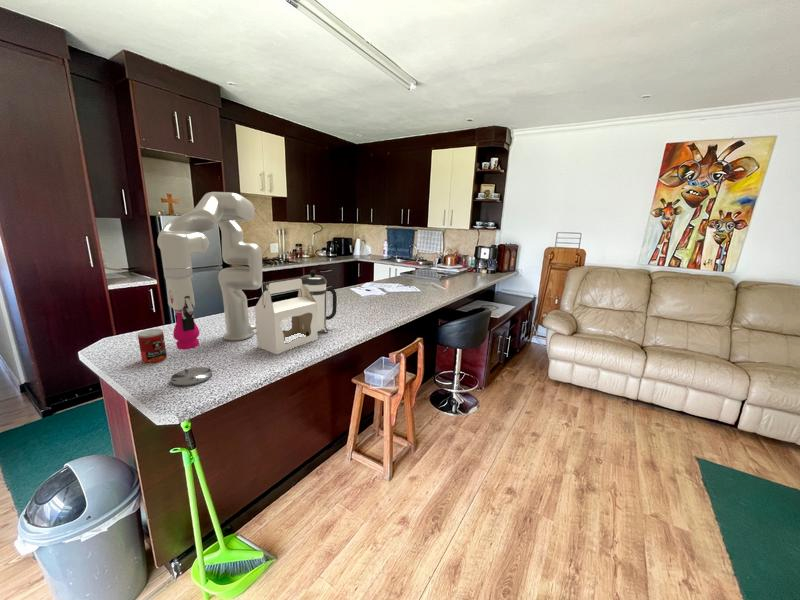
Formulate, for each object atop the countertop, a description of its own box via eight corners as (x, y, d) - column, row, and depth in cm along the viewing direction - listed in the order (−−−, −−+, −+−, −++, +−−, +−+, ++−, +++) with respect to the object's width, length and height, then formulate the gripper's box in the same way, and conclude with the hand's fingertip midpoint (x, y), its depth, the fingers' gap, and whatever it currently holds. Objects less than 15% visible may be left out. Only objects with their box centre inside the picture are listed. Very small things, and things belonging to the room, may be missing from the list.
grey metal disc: (204, 367, 121) (203, 363, 121) (218, 377, 114) (218, 373, 114) (165, 378, 112) (165, 374, 112) (178, 390, 105) (177, 386, 105)
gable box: (299, 333, 159) (296, 275, 152) (318, 339, 152) (316, 279, 145) (256, 347, 141) (251, 282, 135) (276, 354, 134) (271, 286, 127)
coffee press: (323, 338, 153) (324, 273, 147) (291, 334, 155) (290, 270, 149) (336, 327, 170) (337, 269, 163) (307, 324, 172) (306, 266, 166)
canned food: (147, 365, 121) (143, 337, 118) (138, 360, 125) (133, 332, 123) (171, 358, 127) (167, 331, 125) (161, 354, 131) (157, 327, 129)
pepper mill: (206, 343, 113) (199, 285, 108) (188, 351, 106) (180, 289, 101) (187, 341, 114) (180, 284, 110) (169, 349, 107) (160, 288, 103)
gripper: (155, 270, 107) (163, 324, 111) (174, 277, 96) (182, 337, 101) (182, 268, 113) (188, 320, 117) (202, 275, 102) (208, 331, 106)
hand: (185, 327), depth 109 cm, fingers closed on pepper mill, 5 cm apart
